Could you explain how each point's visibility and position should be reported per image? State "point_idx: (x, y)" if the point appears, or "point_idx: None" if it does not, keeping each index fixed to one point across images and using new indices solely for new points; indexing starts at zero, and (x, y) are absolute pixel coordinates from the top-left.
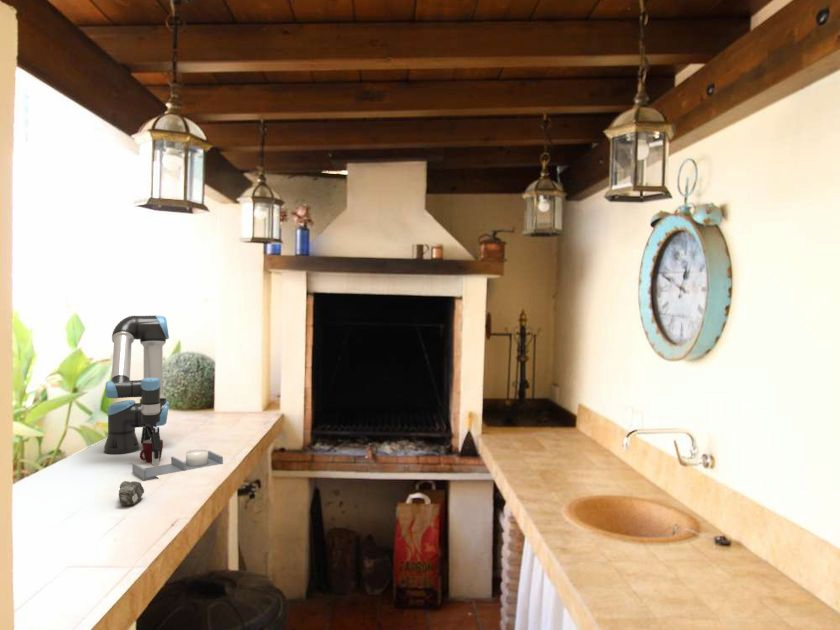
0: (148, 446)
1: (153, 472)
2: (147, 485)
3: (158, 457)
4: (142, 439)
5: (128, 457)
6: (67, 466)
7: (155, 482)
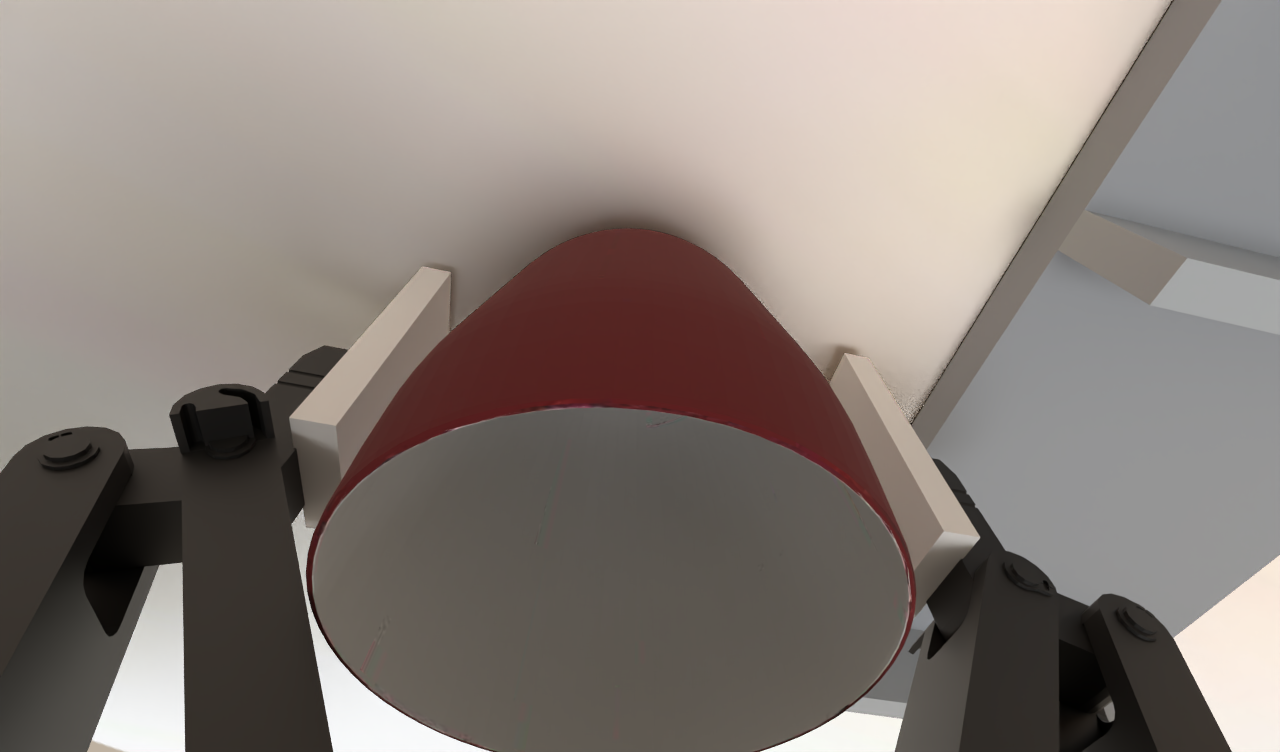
0: (737, 676)
1: (1098, 576)
2: (1224, 679)
3: (952, 474)
4: (125, 648)
5: (7, 327)
6: (163, 722)
7: (1252, 627)
